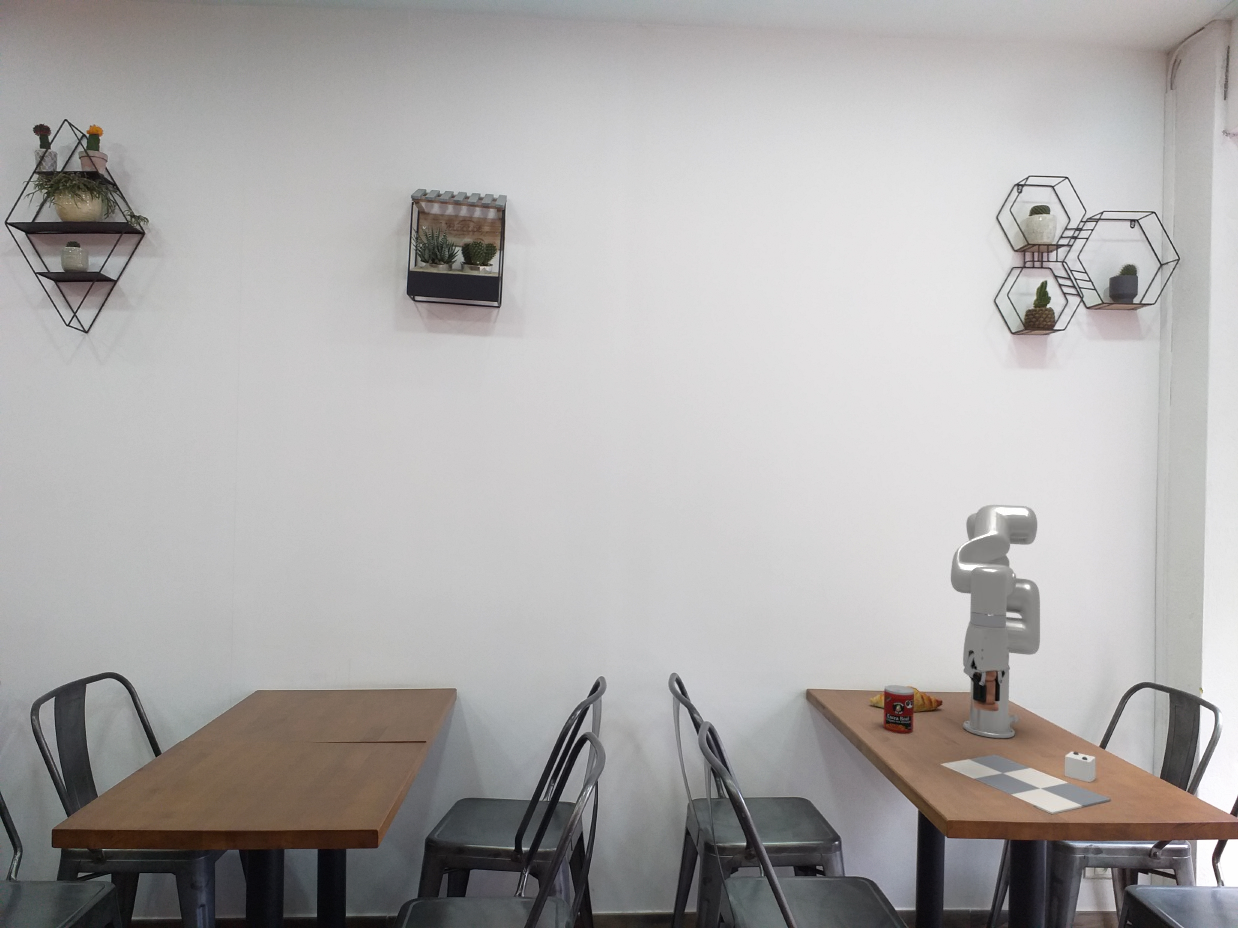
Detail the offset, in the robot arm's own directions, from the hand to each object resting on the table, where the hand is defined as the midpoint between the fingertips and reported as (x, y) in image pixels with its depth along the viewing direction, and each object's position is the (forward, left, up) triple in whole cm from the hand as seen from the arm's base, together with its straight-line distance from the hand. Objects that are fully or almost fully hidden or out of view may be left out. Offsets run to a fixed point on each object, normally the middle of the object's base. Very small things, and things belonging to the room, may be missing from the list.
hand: (986, 699), depth 177 cm
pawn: (0, 0, -2) cm, 2 cm away
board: (-5, +6, -18) cm, 19 cm away
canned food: (-7, -33, -18) cm, 38 cm away
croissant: (-25, -48, -18) cm, 57 cm away
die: (-21, +9, -18) cm, 29 cm away
